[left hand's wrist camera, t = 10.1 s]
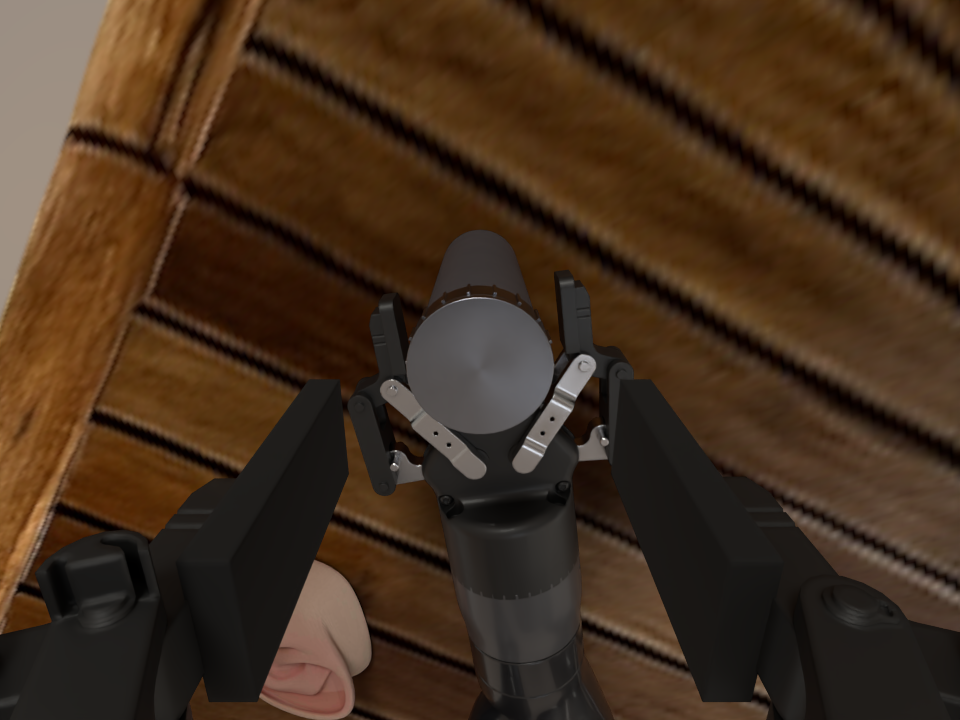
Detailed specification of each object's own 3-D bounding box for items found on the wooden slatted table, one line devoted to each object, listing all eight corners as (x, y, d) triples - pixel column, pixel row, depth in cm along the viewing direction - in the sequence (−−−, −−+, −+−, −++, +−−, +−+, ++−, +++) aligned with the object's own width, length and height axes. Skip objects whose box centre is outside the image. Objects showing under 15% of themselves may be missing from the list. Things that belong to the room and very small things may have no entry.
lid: (388, 309, 19) (380, 324, 18) (527, 263, 19) (531, 274, 17) (438, 430, 21) (434, 453, 19) (566, 391, 20) (573, 411, 19)
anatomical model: (174, 587, 37) (350, 586, 37) (202, 546, 40) (362, 546, 40) (209, 729, 41) (365, 729, 41) (231, 680, 45) (374, 680, 45)
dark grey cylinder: (431, 244, 33) (392, 323, 18) (504, 219, 32) (524, 280, 18) (457, 313, 34) (440, 439, 20) (526, 290, 34) (562, 402, 19)
